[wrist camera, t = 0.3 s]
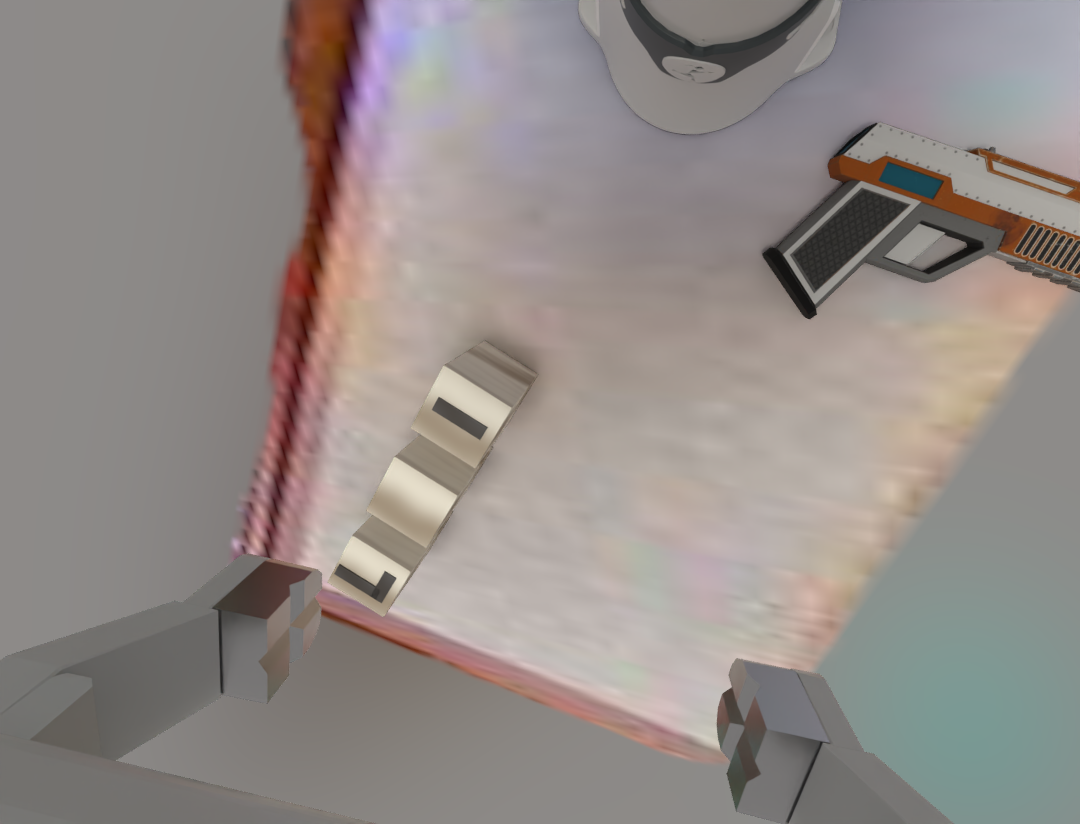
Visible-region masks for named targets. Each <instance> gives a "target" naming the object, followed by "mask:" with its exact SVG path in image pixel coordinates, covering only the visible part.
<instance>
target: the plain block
mask: <svg viewBox="0 0 1080 824" xmlns="http://www.w3.org/2000/svg"><path fill="white" fill-rule="evenodd" d="M492 448H493V447H492V446H491V448H490V449H489V450H488V452H487V453H486V454H485V456H484V457H483V459H482V460H481V461H480V463H479V464H478V465H477V467H476V468H474V467H472V466H470V465H469V464H467V463H466V462H464V461H462V460H461V459H459V458H458V457H456V456H454V455H453V454H451V453H450V452H448V451H446V450H445V449H443V448H442V447H440V446H438V445H437V444H435V443H434V442H432V441H430V440H429V439H427V438H426V437H424V436H422V435H421V434H420V435H419V436H418V437H417V438H416V439H415V440H413V441H412V442H411V443H410V444H409V445H408V446H406V447H405V448H404V449H403V450H402V451H401V452H399V453H398V454H397V455H396V456H395V457H394V459H393V461H392V463H391V465H390V466H389V468H388V470H387V472H386V474H385V476H384V478H383V480H382V481H381V483H380V485H379V487H378V489H377V491H376V493H375V495H374V497H373V498H372V500H371V502H370V504H369V506H368V508H367V510H366V511H367V512H369V513H371V514H372V515H374V516H375V517H377V518H379V519H380V520H382V521H383V522H385V523H387V524H388V525H390V526H391V527H393V528H395V529H396V530H398V531H399V532H401V533H403V534H404V535H406V536H407V537H409V538H411V539H412V540H414V541H415V542H417V543H419V544H420V545H422V546H423V547H425V548H427V546H428V545H429V543H430V542H431V541H432V539H433V538H434V536H435V535H436V533H437V532H438V531H439V529H440V528H441V526H442V525H443V523H444V522H445V521H446V519H447V518H448V516H449V515H450V514H451V512H452V511H453V509H454V508H455V506H456V505H457V504H458V502H459V501H460V499H461V498H462V497H463V495H464V494H465V492H466V491H467V489H468V488H469V486H470V484H471V483H472V481H473V479H474V478H475V476H476V474H477V473H478V471H479V470H480V468H481V466H482V465H483V463H484V461H485V460H486V458H487V456H488V455H489V453H490V452H491V450H492Z"/></svg>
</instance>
